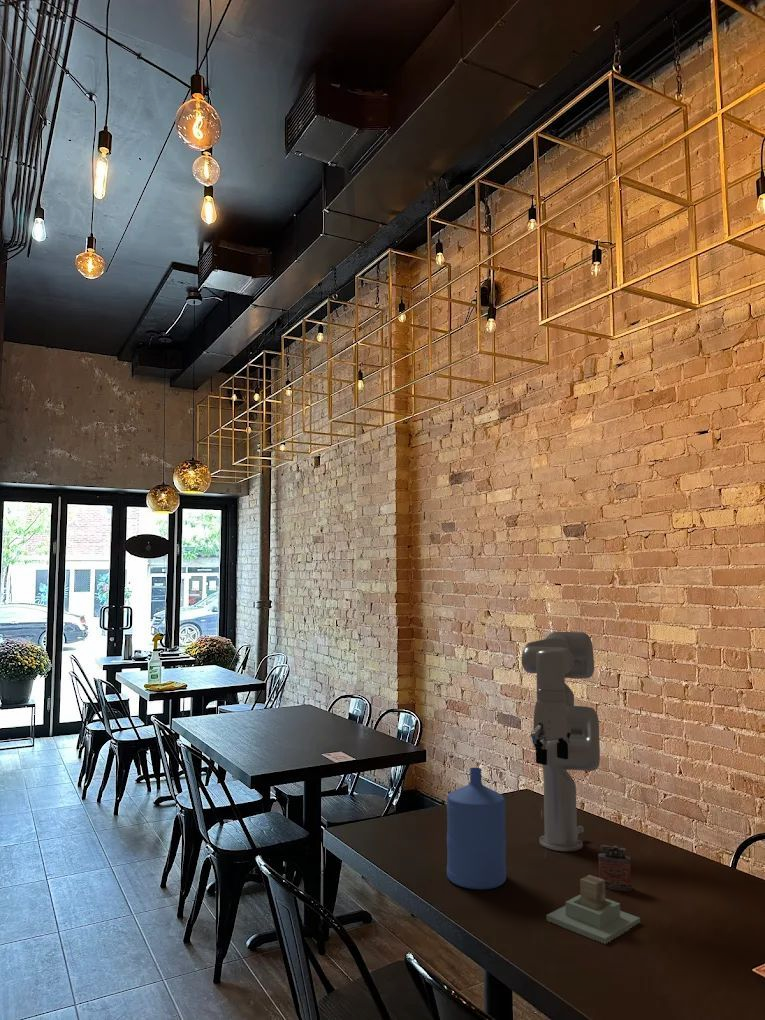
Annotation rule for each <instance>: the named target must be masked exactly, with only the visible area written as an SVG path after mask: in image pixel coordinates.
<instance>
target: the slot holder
mask: <svg viewBox="0 0 765 1020" xmlns="http://www.w3.org/2000/svg"><path fill="white" fill-rule="evenodd" d="M546 921H547V922H549V923H551V922H552V924H554V925H556V926H559V927H562V928H564V929H566V930H569V931H571V932H574V933H575V934H579V935H580V936H582V937H586V938H588V939H590V940H593V941H595V940H596V942H598V941H599V942H598V943H600V942H601V944H603V943H604V944H603V945H607V944H608V942H609V943H610V942H611V940H612V941H613V939H614V938H615V939H617V938H618V936H619V937H620V936H622V935H623V934H625V933H627V932H628V931H630V930H631V929H630V928H632V927H633V926H635V925H636V924H638V923H640V924H641V918H640V917H639V916H636V915H633V914H630V913H627V912H625V911H622V910H621V903H620V902H617V901H615V900H612V899H609V898H606V897H605V908H603V909H601V910H599V911H595V910H593V909H590V908H587V907H585V906H582V905H581V898H580V894H578V895H576V896H574V897H572V898H571V899H569V900H566V901H565V904H564V906H561V907H560V908H557V909H556V910H554V911H552V912H550V913H548V914H546ZM638 925H639V924H638ZM635 927H636V926H635ZM633 928H634V927H633ZM633 928H632V929H633ZM629 929H630V930H629ZM626 931H627V932H626ZM624 932H625V933H624ZM621 934H622V935H621ZM616 937H617V938H616ZM615 939H614V940H615ZM606 943H607V944H606Z"/></svg>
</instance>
